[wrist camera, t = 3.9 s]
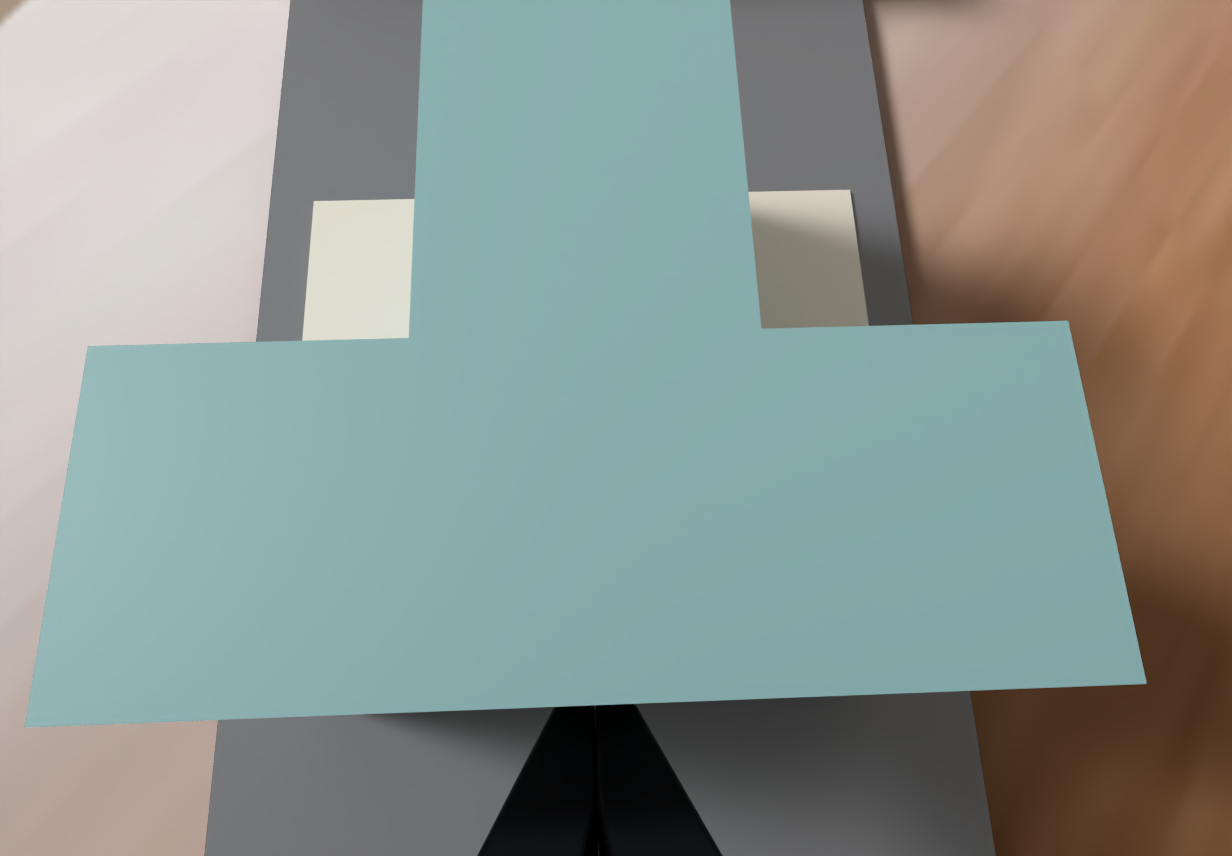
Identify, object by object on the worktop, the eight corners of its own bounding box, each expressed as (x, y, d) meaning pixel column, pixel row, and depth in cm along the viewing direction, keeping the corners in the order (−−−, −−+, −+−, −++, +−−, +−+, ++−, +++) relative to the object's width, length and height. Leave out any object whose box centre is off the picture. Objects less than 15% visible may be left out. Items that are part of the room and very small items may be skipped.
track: (986, 872, 15) (1096, 926, 12) (211, 907, 15) (96, 973, 11) (844, -64, 22) (889, -201, 18) (304, -57, 21) (249, -196, 18)
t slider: (870, 683, 15) (1146, 683, 7) (321, 703, 15) (24, 727, 7) (809, 183, 18) (960, -177, 11) (355, 192, 18) (173, -171, 10)
